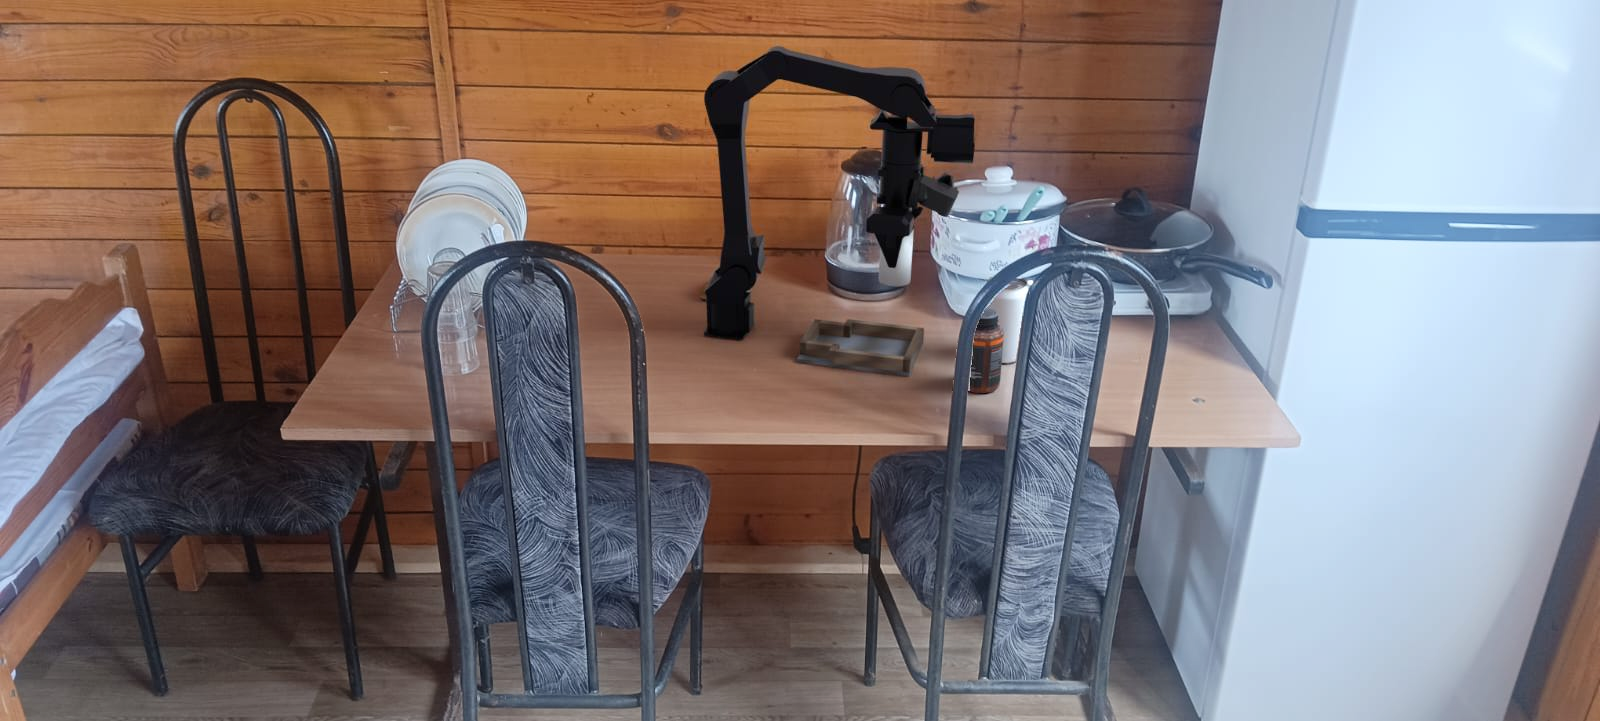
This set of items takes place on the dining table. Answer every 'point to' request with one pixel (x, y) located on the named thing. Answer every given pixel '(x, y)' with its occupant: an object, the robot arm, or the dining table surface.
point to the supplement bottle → (987, 353)
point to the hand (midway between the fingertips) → (895, 261)
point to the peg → (898, 265)
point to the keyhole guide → (862, 346)
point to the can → (1010, 316)
